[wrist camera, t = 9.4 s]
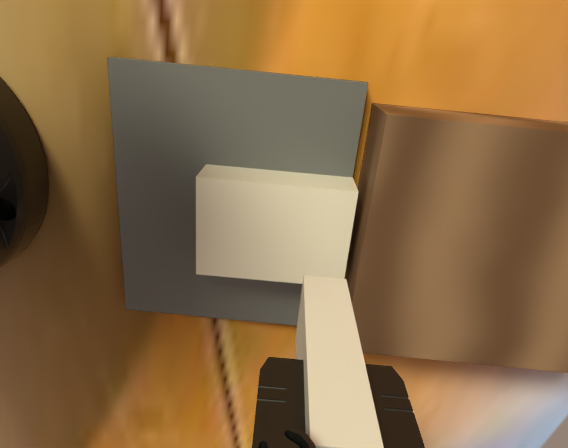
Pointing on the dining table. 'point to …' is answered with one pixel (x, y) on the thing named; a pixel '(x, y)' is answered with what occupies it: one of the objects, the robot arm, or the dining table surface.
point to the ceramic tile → (272, 223)
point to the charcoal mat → (214, 151)
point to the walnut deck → (462, 238)
